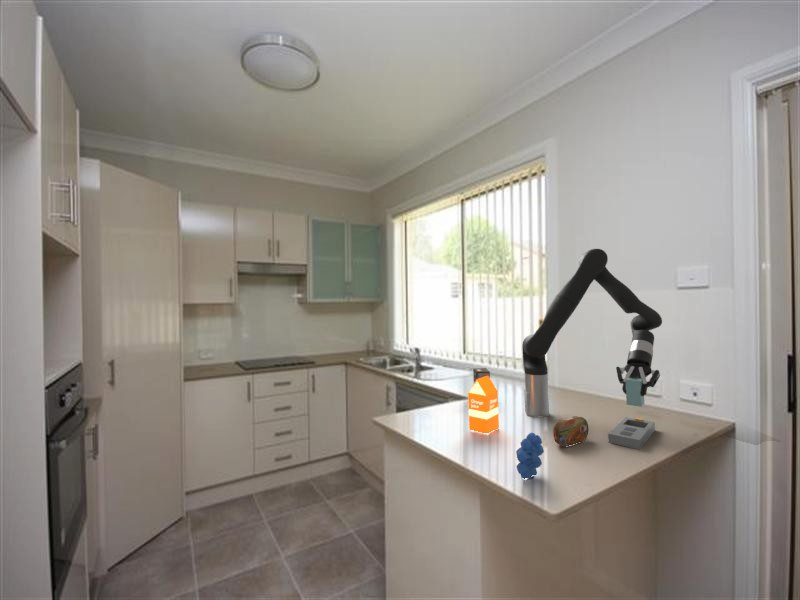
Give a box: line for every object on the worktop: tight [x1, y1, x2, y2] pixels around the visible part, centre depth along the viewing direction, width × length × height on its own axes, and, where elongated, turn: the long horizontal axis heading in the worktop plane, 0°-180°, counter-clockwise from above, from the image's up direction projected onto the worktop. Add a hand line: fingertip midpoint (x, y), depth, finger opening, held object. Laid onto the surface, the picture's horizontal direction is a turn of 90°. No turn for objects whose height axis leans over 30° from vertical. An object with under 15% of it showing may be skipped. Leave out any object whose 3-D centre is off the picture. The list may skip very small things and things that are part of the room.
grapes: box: [515, 432, 545, 479], centre depth 101 cm, size 12×7×12 cm, turn 131°
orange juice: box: [467, 376, 500, 433], centre depth 137 cm, size 8×9×20 cm
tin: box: [552, 415, 589, 448], centre depth 123 cm, size 15×3×8 cm, turn 117°
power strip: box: [607, 416, 656, 450], centre depth 127 cm, size 22×9×4 cm, turn 135°
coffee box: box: [472, 367, 491, 384], centre depth 172 cm, size 9×6×16 cm
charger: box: [625, 377, 645, 408], centre depth 130 cm, size 4×4×9 cm
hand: (633, 393), depth 129 cm, fingers closed on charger, 4 cm apart
